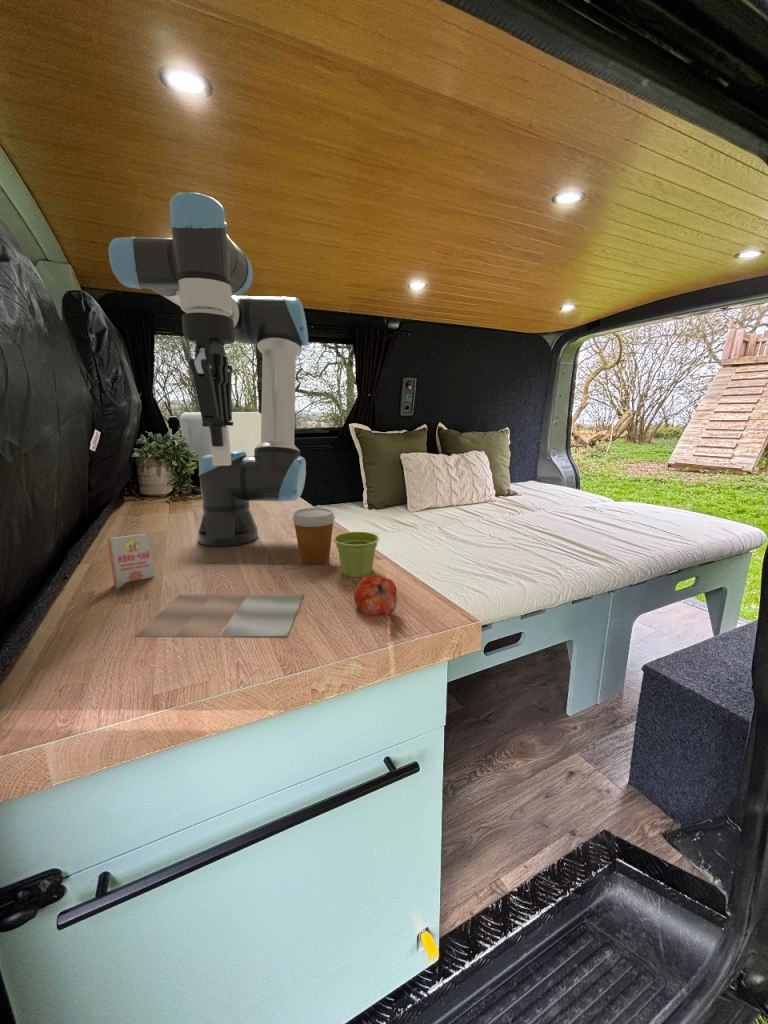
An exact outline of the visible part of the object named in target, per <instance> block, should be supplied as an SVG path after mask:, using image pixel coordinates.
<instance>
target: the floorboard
mask: <svg viewBox="0 0 768 1024" xmlns="http://www.w3.org/2000/svg"><path fill="white" fill-rule="evenodd" d="M246 596H247V595H246V594H178V596H176V598H174V599H173V600H171V602H170V603H169V604H168V605H167V606H165V607H164V609H162V610H161V611H160V612H159V613H158V614H157V615H156V616H155V617H154V618H152V619H151V621H149V622H148V623H147V624H146V625H145V626H144V627H143V628H142V629H141V630H140V631H139V632H138V633H136V635H134V637H135V638H170V637H171V638H217V637H218V635H219V634H221V633H222V630H224V628H225V626H227V623H229V621H230V620H231V619H232V616H234V614H235V613H236V612H237V610H238V609H239V607H240V606H241V604H242V603H243V602H244V600H245V599H246Z"/></svg>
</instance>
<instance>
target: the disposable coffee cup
mask: <svg viewBox="0 0 768 1024" xmlns="http://www.w3.org/2000/svg"><path fill="white" fill-rule="evenodd" d="M291 520H292V522H293V524H294V528H295V534H296V540H297V541H296V542H297V545H298V546H297V547H298V553H299V558H300V564H301V565H302V566H327V565H328V564H329V563H330V555H331V548H332V547H331V546H332V538H333V537H332V535H333V528H334V527H333V526H334V522H335V520H336V516H335V515H334V512H333V510H332V509H329V508H324V507H307V508H300V509H298V510H295V511H293V516H292V517H291ZM328 562H329V563H328ZM327 563H328V564H327ZM326 564H327V565H326Z"/></svg>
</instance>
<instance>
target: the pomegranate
mask: <svg viewBox="0 0 768 1024" xmlns="http://www.w3.org/2000/svg"><path fill="white" fill-rule="evenodd" d="M353 591H354V592H353V599H354V603H355V605H357V609H358V611H359V612H361V613H362V614H364V615H369V616H379V615H387V616H390V615H391V614H392V613H394V611H395V609H397V601H398V597H397V586H396V584H395V583H394V581H393V580H392V579H390V578H388V577H384V576H382V575H380V574H377V573H375V574H374V573H373V574H372V573H370V574H369V575H366V576H363V578H362V579H361V580H360V581H359V582H358V583H357V586H356V587H355V588H354V590H353Z"/></svg>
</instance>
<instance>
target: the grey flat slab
mask: <svg viewBox="0 0 768 1024" xmlns="http://www.w3.org/2000/svg"><path fill="white" fill-rule="evenodd" d="M304 596H305V594H304V593H303V594H302V593H301V594H300V593H299V594H297V593H294V594H293V593H292V594H288V593H287V594H249V595H247V597H245V598H244V600H243V601H242V603H241V604H240V606H239V607H238V608H237V610H236V611H235V613H234V614H233V615H232V616H233V617H231V618H230V620H229V621H228V624H226V625H225V626H226V627H224V628H223V631H221V633H220V635H219V638H288V637H289V634H290V632H291V628H292V627H293V623H294V622H295V619H296V617H297V614H298V612H299V609H300V607H301V603H302V602H303V599H304Z"/></svg>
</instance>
